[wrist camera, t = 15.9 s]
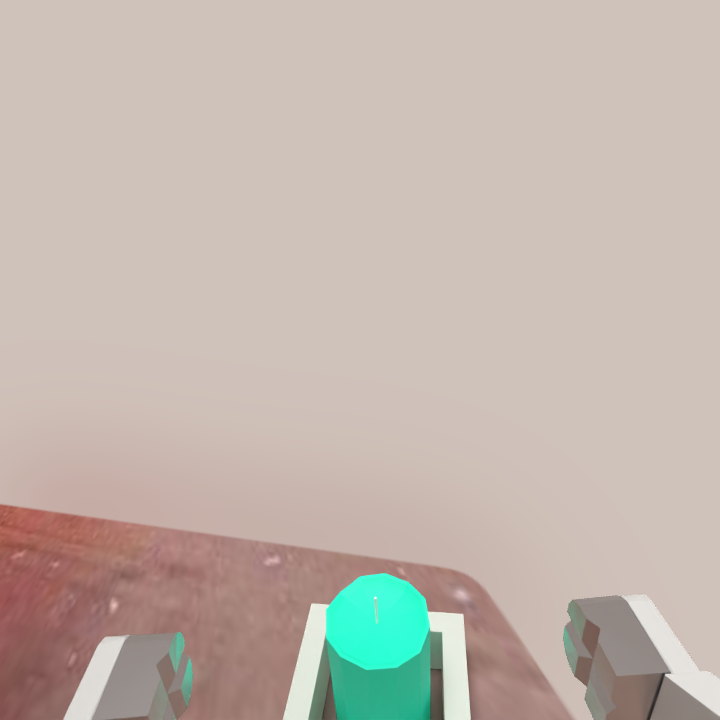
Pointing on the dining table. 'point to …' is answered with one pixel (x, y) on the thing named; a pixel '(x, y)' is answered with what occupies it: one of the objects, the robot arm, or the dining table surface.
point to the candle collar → (315, 671)
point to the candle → (379, 650)
